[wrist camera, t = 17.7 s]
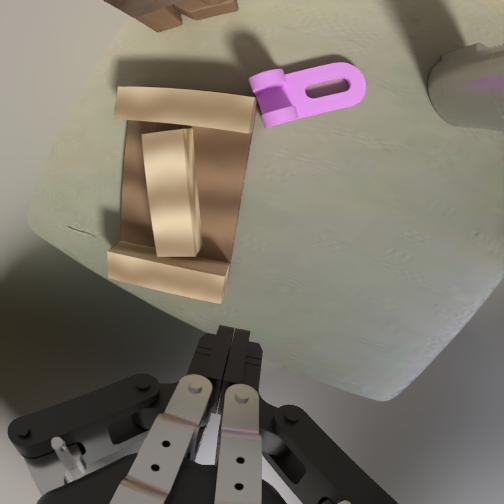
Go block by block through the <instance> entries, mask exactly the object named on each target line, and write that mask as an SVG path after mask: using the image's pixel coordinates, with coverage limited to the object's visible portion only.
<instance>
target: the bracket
mask: <svg viewBox="0 0 504 504" xmlns="http://www.w3.org/2000/svg"><path fill="white" fill-rule="evenodd" d="M339 78H342V79H345V80H346V81H347V82H348V84H349V88H348V90H347V91H346V92H341V93H337V94H332V95H328V96H323V97H319V98H315V99H312V98H309V97H308V96H307V95H306V93H305V88H306V87H307V86H309V85H312V84H316V83H321V82H325V81H330V80H334V79H339ZM249 82H250V85H251V88H252V91H253V92H254V94H255V95H256V97H257V100H258V103H259V106H260V109H261V112H262V115H261V118H262V121H263V124H264V127H265V128H268V127H271V126H275V125H278V124H282V123H285V122H289V121H292V120H296V119H300V118H304V117H308V116H312V115H316V114H320V113H324V112H328V111H332V110H336V109H341V108H345V107H350V106H353V105H355V104H357V103H359V102H360V101H361V100H362V98H363V97H364V95H365V92H366V82H365V79H364V76H363V75H362V73H361V72H360V71H359V70H358V69H357V68H356V67H354V66H353V65H351V64H348V63H344V62H338V63H332V64H327V65H323V66H318V67H314V68H309V69H305V70H301V71H297V72H293V73H289V74H285V75H284V72H283V69H274V70H269V71H266V72H262V73H259V74H257V75H254V76H252V77H250V78H249Z"/></svg>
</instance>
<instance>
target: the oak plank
mask: <svg viewBox="0 0 504 504" xmlns="http://www.w3.org/2000/svg"><path fill="white" fill-rule="evenodd" d="M142 146H143V156H144V166H145V175H146V183H147V191H148V199H149V207H150V214H151V221H152V227H153V234H154V240H155V246H156V252H157V257H196V255H197V253H198V252H199V250H200V249H201V247H202V246H203V238H202V229H201V219H200V209H199V199H198V188H197V177H196V165H195V153H194V140H193V128H190V129H178V130H170V131H162V132H155V133H148V134H142Z"/></svg>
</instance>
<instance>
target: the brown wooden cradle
mask: <svg viewBox="0 0 504 504" xmlns="http://www.w3.org/2000/svg"><path fill="white" fill-rule="evenodd" d="M257 105H258V100H257V99H256V98H255V97H248V96H242V95H234V94H227V93H218V92H209V91H199V90H188V89H175V88H157V87H118V90H117V96H116V104H115V111H114V119H119V120H128V127H127V136H126V146H125V157H124V169H123V184H122V204H121V241H119V242H118V243H117V244H116V245H115V246H113V247H112V248H111V249H110V250H108V251H107V256H108V278H111V279H115V280H119V281H123V282H127V283H131V284H135V285H139V286H143V287H147V288H151V289H155V290H159V291H164V292H168V293H172V294H177V295H181V296H186V297H190V298H195V299H199V300H204V301H208V302H213V303H218V304H221V302H222V299H223V296H224V293H225V290H226V287H227V283H228V277H229V270H230V264H231V258H232V251H233V245H234V239H235V233H236V227H237V221H238V214H239V208H240V202H241V196H242V190H243V185H244V179H245V173H246V167H247V161H248V155H249V150H250V144H251V138H252V133H253V127H254V121H255V116H256V110H257ZM190 128H193V140H194V153H195V165H196V177H197V188H198V199H199V209H200V219H201V229H202V238H203V246H202V247H201V249H200V250H199V252H198V253H197V255H196V257H157V252H156V246H155V240H154V234H153V227H152V221H151V214H150V207H149V199H148V191H147V183H146V175H145V166H144V156H143V146H142V134H148V133H155V132H162V131H170V130H178V129H190Z"/></svg>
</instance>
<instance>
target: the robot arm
mask: <svg viewBox="0 0 504 504" xmlns="http://www.w3.org/2000/svg"><path fill="white" fill-rule="evenodd" d="M428 92H429V97H430V100H431V102H432V105H433V107H434V108H435V110H436V112H437V113H438V114H439V115H440V116H441V117H442V118H443V119H444V120H445V121H446V122H448V123H450V124H452V125H455V126H461V127H468V128H480V129H488V130H496V131H503V132H504V44H503V45H498V46H494V47H490V48H488V47H486V46H485V45H483V44H481V43H476V44H473V45H470V46H467V47H464V48H461V49H458V50H455V51H452V52H449V53H446V54H444V55H442V56H441V61H440V62H439V63H438V64H437V65H436V66H434V68H433V69H432V70H431V73H430V75H429V79H428ZM233 333H234V337H233ZM249 336H250V331H247V330H242V329H237V328H235V332H234V328H232V327H227V326H222V325H219V328H218V331H217V334H216V335H215V334H210V333H206V334H205V335H203V336H202V337H201V338H200V340H199V343H198V345H197V348H196V350H195V353H194V356H193V359H192V361H191V364H190V367H189V369H188V372H187V375H186V376H185V377H183V378H182V379H181V380H180V381H179V382H177V383H172V384H159V382H158V381H157V379H156V378H155V377H153V376H151V375H148V374H136V375H133V376H131V377H128V378H126V379H123V380H121V381H118V382H116V383H113V384H111V385H108V386H106V387H103V388H101V389H98V390H95V391H93V392H90V393H87V394H85V395H82V396H80V397H77V398H74V399H71V400H68V401H66V402H63V403H61V404H58V405H55V406H52V407H49V408H46V409H43V410H40V411H37V412H34V413H32V414H28V415H25V416H22V417H19V418H17V419H15V420H13V421H12V422H11V423H10V425H9V427H8V436H9V438H10V440H11V442H12V443H13V444H14V446H15V447H16V449H17V451H18V453H19V454H20V455H21V457H22V458H23V459H24V461H25V462H26V464H27V466H28V468H29V471H30V473H31V475H32V477H33V479H34V481H35V483H36V485H37V487H38V489H39V491H40V493H41V495H42V497H41V498H40V499H39V500H38V502H37V504H287V503H286V502H285V501H284V499H283V498H282V497H281V496H280V494H279V493H278V492H277V490H275V488H274V487H273V486H271V485H270V484H269V483H268V482H266V481H264V480H263V479H262V455H263V456H264V458H265V459H266V460H267V461H268V463H269V464H270V465H271V466H272V467H273V469H274V470H275V471H276V472H277V474H278V475H279V476H280V477H281V478H282V480H283V481H284V482H285V483H286V485H287V486H288V487H289V488H290V489H291V490H292V492H293V493H294V494H295V495H296V496H297V497H298V498H299V499H300V501H301V502H302V503H303V504H398V503H397V502H396V501H395V500H394V499H393V498H392V497H391V496H390V495H388V494H387V493H386V492H385V491H384V490H383V489H382V488H381V487H380V486H379V485H378V484H377V483H376V482H374V481H373V480H372V479H371V478H370V477H369V476H368V475H367V474H366V473H365V472H364V471H363V470H362V469H361V468H360V467H359V466H358V465H357V464H356V463H355V462H354V461H353V460H351V459H350V457H349V456H348V455H347V454H346V453H345V452H344V451H342V450H341V448H340V447H339V446H337V445H336V443H335V442H334V441H333V440H332V439H331V438H330V437H329V436H328V435H327V434H326V433H325V432H324V431H323V430H322V429H321V428H320V427H319V426H318V425H317V424H316V423H315V422H314V421H313V420H312V419H311V418H310V417H309V416H308V414H307V413H306V412H305V411H304V410H303V409H301V408H299V407H297V406H294V405H284V406H281V407H279V408H277V407H274V406H272V405H270V404H268V403H266V402H265V401H264V400H263V399H262V398H261V396H260V394H259V391H258V390H259V389H258V388H259V380H260V371H261V361H262V353H263V351H262V349H261V346H260V344H259V343H255V342H249ZM232 339H233V341H232ZM231 344H232V345H231ZM220 394H221V396H220ZM219 399H220V402H219ZM218 403H219V408H218V414H221V420H220V425H219V431H218V440H217V448H216V458H215V465H201V464H198V463H196V462H195V459H196V456H197V453H198V450H199V447H200V445H201V442H202V439H203V436H204V433H205V431H206V428H207V424H208V422H209V420H210V416H211V413H216V412H217V407H218ZM144 438H146V439H145V441H144V443H143V445H142V447H141V449H140V451H139V453H134V454H130V455H127V456H124V457H122V458H120V459H118V460H116V461H114V462H112V463H110V464H108V465H106V466H104V467H102V468H100V469H98V470H96V471H94V472H92V473H90V474H87V475H85V476H83V475H84V474H85V472H86V469H87V464H89V463H91V462H94V461H96V460H98V459H101V458H103V457H105V456H108V455H110V454H112V453H114V452H116V451H119V450H121V449H123V448H125V447H127V446H129V445H132V444H133V443H136V442H138V441H140V440H142V439H144ZM82 476H83V477H82Z"/></svg>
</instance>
